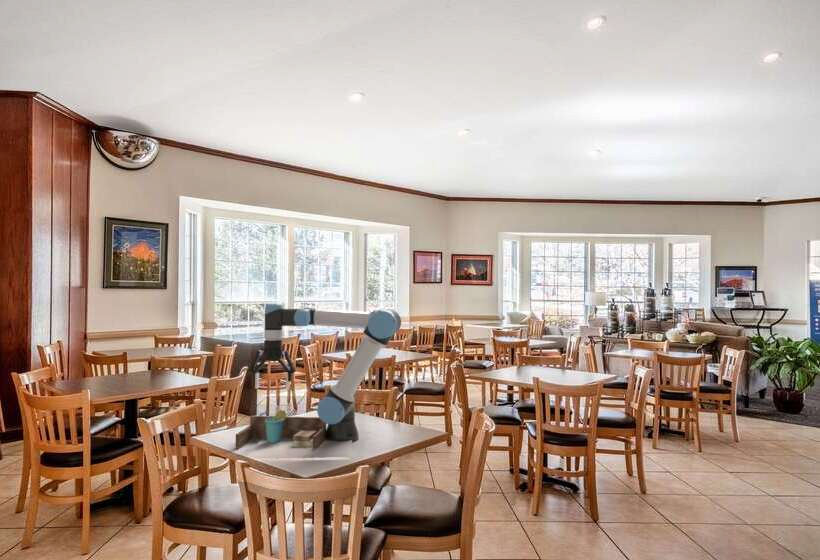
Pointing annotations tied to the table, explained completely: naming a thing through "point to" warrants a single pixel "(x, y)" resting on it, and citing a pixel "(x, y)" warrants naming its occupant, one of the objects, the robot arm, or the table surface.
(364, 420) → the table surface
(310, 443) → the offcut middle
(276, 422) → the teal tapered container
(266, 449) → the table surface
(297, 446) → the offcut bottom
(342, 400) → the robot arm
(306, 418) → the tray
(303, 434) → the offcut top
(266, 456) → the table surface
